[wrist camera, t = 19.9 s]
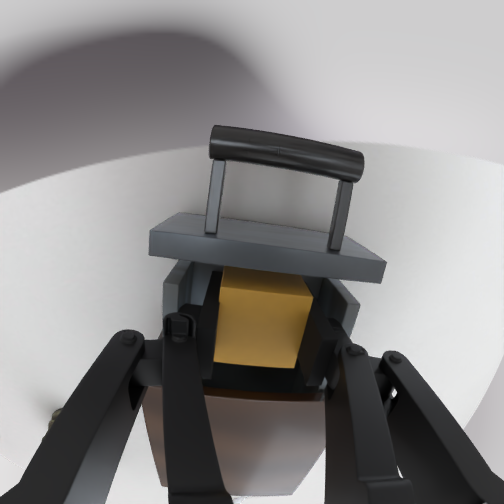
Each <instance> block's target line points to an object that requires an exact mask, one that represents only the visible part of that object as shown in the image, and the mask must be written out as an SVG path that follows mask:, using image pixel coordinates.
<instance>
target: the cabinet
mask: <svg viewBox="0 0 504 504" xmlns="http://www.w3.org/2000/svg"><path fill="white" fill-rule="evenodd" d="M161 338H163V329H162V332H161V334H160V336H159V338H158V339H161ZM203 391H204V396H205V402H206V407H207V412H208V417H209V422H210V427H211V432H212V436H213V441H214V445H215V450H216V454H217V458H218V462H219V467H220V471H221V475H222V478H223V482H224V486H225V489H226V491H227V492H228V493H229V494H230V495H234V496H285V495H292V494H293V493H294V491H295V490H296V489H297V488H298V486H299V485H300V484H301V482H302V481H303V480H304V478H305V477H306V475H307V474H308V473H309V471H310V470H311V468H312V467H313V466H314V464H315V463H316V461H317V460H318V458H319V457H320V455H321V454H322V452H323V451H324V449H325V447H326V434H325V398H324V399H323V400H322V402H320V398H321V396H322V394H323V393H276V392H257V391H244V390H232V389H223V388H214V387H206V386H203ZM142 407H143V413H144V418H145V423H146V428H147V432H148V437H149V441H150V445H151V450H152V454H153V457H154V461H155V465H156V469H157V472H158V476H159V479H160V482H161V485H162V486H164V487H168V483H167V473H166V462H165V449H164V433H163V406H162V386H148V389H147V392H146V394H145V397H144V399H143V402H142Z"/></svg>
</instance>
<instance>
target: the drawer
mask: <svg viewBox="0 0 504 504" xmlns="http://www.w3.org/2000/svg"><path fill="white" fill-rule="evenodd" d="M209 158H210V159H214V160H213V164H212V171H211V178H210V186H209V193H208V201H207V210H206V216H204V215H195V214H187V213H177V214H175V215H174V216H172V217H170V218H169V219H167V220H165V221H164V222H162V223H161V224H159V225H157V226H156V227H154V228H153V229H151V230H150V236H149V255H150V256H157V257H164V258H172V259H179V261H178V262H177V264H176V265H175V266H174V268H173V269H172V271H171V272H170V273H169V275H168V276H167V278H166V279H165V281H164V282H163V318H164V316H166V315H167V314H169V313H173V312H178V311H179V308H180V307H181V306H182V305H184V304H185V303H188V304H195V305H203V302H204V298H205V295H206V291H207V288H208V284H209V281H210V277H211V274H212V271H219V272H223V271H224V266H231V267H239V268H247V269H255V270H263V271H271V272H280V273H288V274H297V275H301V277H302V279H303V280H304V282H306V283H307V285H308V286H309V288H310V290H311V292H312V293H313V295H314V297H315V298H316V300H317V302H318V304H319V305H320V307H321V309H322V311H323V312H324V314H325V316H326V317H328V318H334V319H336V320H337V321H338V322H340V324H341V325H342V327H343V329H344V330H345V332H346V333H347V335H348V336H349V338H350V335H351V333H352V330H353V327H354V324H355V321H356V318H357V315H358V312H359V309H360V303H359V302H358V301H357V300H356V299H355V298H354V296H353V295H352V294H351V293H350V292H349V291H348V290H347V288H346V287H345V286H344V285H343V284H342V283H341V282H340V280H339V279H341V280H350V281H359V282H369V283H379V284H381V281H382V278H383V274H384V271H385V267H386V264H387V262H386V261H385V260H383V259H382V258H380V257H379V256H377V255H376V254H374V253H373V252H371V251H369V250H368V249H366V248H365V247H363V246H362V245H360V244H358V243H357V242H355V241H354V240H352V239H351V238H349V237H347V236H344V232H345V227H346V222H347V217H348V211H349V206H350V200H351V195H352V189H353V183H357V182H358V181H359V180H360V179H361V177H362V174H363V170H364V156H363V154H362V153H361V152H359V151H355V150H351V149H347V148H344V147H340V146H336V145H331V144H327V143H323V142H319V141H314V140H309V139H305V138H299V137H295V136H289V135H284V134H278V133H272V132H266V131H260V130H253V129H246V128H238V127H230V126H220V125H214V127H213V129H212V132H211V137H210V144H209ZM225 160H226V161H225ZM227 161H234V162H241V163H249V164H256V165H262V166H269V167H275V168H281V169H287V170H293V171H298V172H303V173H309V174H314V175H319V176H324V177H328V178H333V179H338V180H340V181H339V183H338V189H337V195H336V201H335V206H334V212H333V217H332V222H331V227H330V232H329V233H325V232H318V231H312V230H305V229H299V228H292V227H285V226H279V225H272V224H265V223H257V222H250V221H243V220H235V219H228V218H220V209H221V201H222V194H223V186H224V179H225V172H226V165H227ZM201 379H202V385H203V386H206V387H214V388H223V389H232V390H244V391H257V392H276V393H323V391H324V389H325V387H326V384H327V380H326V378H325V377H324V380H323V383H322V385H321V386H306V384H305V380H304V377H303V373H302V370H301V367H300V363H299V360H298V356H297V360H296V363H295V367H294V368H278V367H262V366H250V365H239V364H230V363H221V362H214V361H213V369H212V377H211V379H204V378H201Z"/></svg>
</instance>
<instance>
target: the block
mask: <svg viewBox="0 0 504 504" xmlns="http://www.w3.org/2000/svg"><path fill="white" fill-rule="evenodd" d="M312 301H313V296H312V294H311V293H310V291H309V289H308V287H307V286H306V284H305V282H304V280H303V279H302V277H301V275H297V274H288V273H280V272H271V271H263V270H255V269H247V268H239V267H231V266H224V271H223V276H222V281H221V287H220V295H219V302H220V306H219V315H218V325H217V335H216V345H215V353H214V362H221V363H230V364H239V365H250V366H262V367H278V368H294V367H295V363H296V360H297V355H298V352H299V348H300V344H301V341H302V337H303V334H304V330H305V326H306V322H307V319H308V315H309V311H310V309H311V305H312Z"/></svg>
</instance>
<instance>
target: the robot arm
mask: <svg viewBox="0 0 504 504" xmlns="http://www.w3.org/2000/svg"><path fill="white" fill-rule="evenodd" d="M222 276H223V272H219V271H212V274H211V277H210V281H209V284H208V288H207V291H206V295H205V298H204V302H203V305H195V304H188V303H185V304H184V305H182V306H181V307H180V308H179V311H178V312H173V313H169V314H167V315H166V316H164V318H163V338H161V339H157V340H144V336H143V334H141V333H140V332H138V331H135V330H129V329H128V330H121V331H119V332H117V333H116V334H115V335H114V336H113V337H112V338H111V340H110V341H109V342H108V344H107V345H106V346H105V348H104V349H103V351H102V352H101V353H100V355H99V356H98V357H97V359H96V360H95V362H94V363H93V364H92V366H91V367H90V369H89V370H88V372H87V373H86V374H85V376H84V377H83V379H82V380H81V382H80V383H79V385H78V386H77V387H76V389H75V390H74V392H73V393H72V395H71V396H70V398H69V399H68V401H67V402H66V404H65V405H64V407H63V409H62V410H61V412H60V413H59V415H58V416H57V418H56V419H55V421H54V423H53V424H52V426H51V427H50V429H49V431H48V432H47V434H46V436H45V437H44V439H43V441H42V442H41V444H40V446H39V447H38V449H37V451H36V453H35V454H34V456H33V458H32V460H31V461H30V463H29V465H28V467H27V469H26V470H25V472H24V474H23V476H22V478H21V480H20V482H19V483H18V484H17V485H16V486H14V487H13V488H12V489H10V490H9V491H8V492H6V493H5V494H4V495H2V496H1V497H0V504H105V502H106V499H107V496H108V493H109V490H110V487H111V484H112V481H113V478H114V476H115V473H116V470H117V467H118V464H119V462H120V459H121V456H122V453H123V451H124V448H125V445H126V443H127V440H128V437H129V435H130V432H131V430H132V427H133V424H134V422H135V419H136V417H137V414H138V412H139V409H140V407H141V404H142V402H143V399H144V397H145V394H146V392H147V389H148V386H162V406H163V433H164V449H165V462H166V473H167V483H168V501H169V504H234V503H233V501H232V498H231V496H230V494H229V493H228V492H227V491H226V489H225V486H224V482H223V478H222V475H221V471H220V467H219V462H218V458H217V454H216V450H215V445H214V441H213V436H212V432H211V427H210V422H209V417H208V412H207V407H206V402H205V396H204V391H203V385H202V379H201V378H204V379H211V377H212V369H213V361H214V353H215V345H216V335H217V325H218V315H219V306H220V302H219V295H220V287H221V281H222ZM305 284H306V286H307V287H308V289H309V291H310V293H311V294H312V296H313V301H312V305H311V309H310V311H309V315H308V319H307V322H306V326H305V330H304V334H303V337H302V341H301V344H300V348H299V352H298V355H297V356H298V360H299V363H300V367H301V370H302V373H303V377H304V380H305V384H306V386H321V385H322V383H323V380H324V377H325V378H326V380H327V384H326V387H325V389H324V391H323V394H322V396H321V398H320V402H322V400H323V399H324V398H325V434H326V469H325V502H324V504H504V481H503V480H502V479H501V478H499V477H498V476H497V475H495V474H494V473H493V472H492V471H491V469H490V468H489V466H488V465H487V464H486V462H485V460H484V459H483V457H482V456H481V455H480V453H479V452H478V450H477V449H476V447H475V446H474V445H473V443H472V442H471V440H470V439H469V438H468V436H467V435H466V433H465V432H464V431H463V429H462V428H461V427H460V425H459V424H458V423H457V421H456V420H455V418H454V417H453V416H452V414H451V413H450V412H449V411H448V409H447V408H446V407H445V405H444V404H443V403H442V401H441V400H440V399H439V398H438V396H437V395H436V394H435V392H434V391H433V390H432V389H431V387H430V386H429V385H428V384H427V382H426V381H425V380H424V379H423V377H422V376H421V375H420V374H419V372H418V371H417V370H416V369H415V368H414V366H413V365H412V364H411V363H410V362H409V360H408V359H407V358H406V357H405V356H404V355H403V354H401V353H399V352H396V351H386V352H385V353H384V354H383V356H382V358H376V357H370V356H368V353H367V351H366V350H365V349H364V348H363V347H362V346H359V345H357V344H353V343H352V341H351V340H350V338H349V336H348V335H347V333H346V332H345V330H344V329H343V327H342V325H341V324H340V322H338V321H337V320H336V319H334V318H328V317H326V316H325V314H324V312H323V311H322V309H321V307H320V305H319V304H318V302H317V300H316V298H315V297H314V295H313V293H312V292H311V290H310V288H309V286H308V285H307V283H306V282H305ZM394 389H395V390H396V391H397V394H396V396H395V397H393V396H392V395H391V394H392V392H393V390H394ZM397 466H398V468H399V470H400V472H401V474H402V476H403V478H401V477H400V476H399V473H398V468H397Z"/></svg>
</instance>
